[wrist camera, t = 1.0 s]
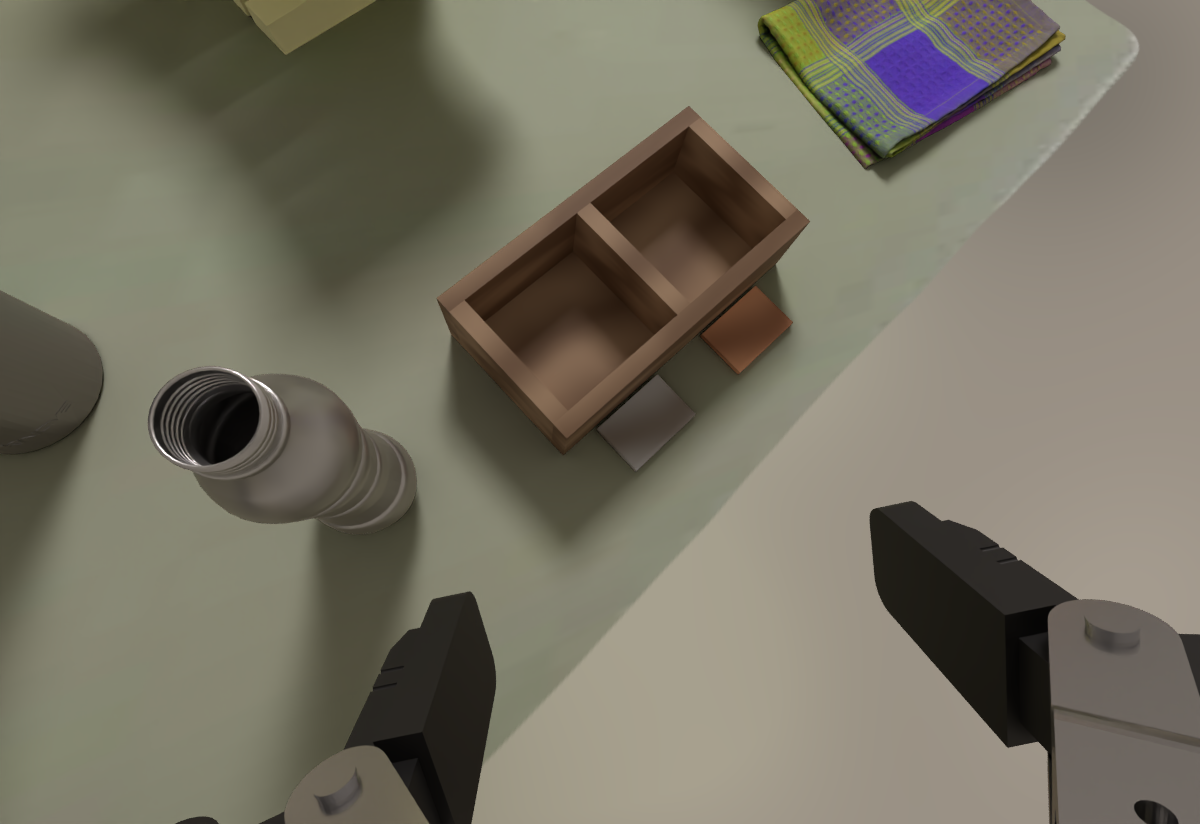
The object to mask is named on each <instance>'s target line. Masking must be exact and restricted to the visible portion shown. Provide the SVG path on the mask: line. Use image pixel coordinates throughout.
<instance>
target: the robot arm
mask: <svg viewBox="0 0 1200 824" xmlns="http://www.w3.org/2000/svg"><path fill="white" fill-rule="evenodd" d="M102 377H103V368H102V363H101V358H100V355H99V353H98V351H97V349H96V347H95V345H94V344H93V343H92V342H91V340H90V339H89V338H88V337H87V336H86V335H85V334H84V333H82V332H81V331H79V330H78V329H77V328H75V327H73V326H71V325H69V324H67V323H65V322H63V321H61V320H59V319H57V318H55V317H53V316H51V315H49V314H47V313H45V312H43V311H41V310H39V309H37V308H35V307H33V306H31V305H29V304H27V303H25V302H23V301H21V300H19V299H17V298H15V297H13V296H11V295H9V294H7V293H5V292H3V291H1V290H0V454H20V453H26V452H31V451H36V450H38V449H41V448H44V447H46V446H49V445H52V444H53V443H55V442H57V441H59V440H60V439H62V438H64V437H65V436H67V435H68V434H69V433H71V432H72V431H73V430H74V429H75V428H77V427H78V426H79V425H80V424H81V423H82V422H83V420H84V419H85V418H86V417H87V416H88V414H89V413H90V412H91V410H92V408H93V406H94V405H95V403H96V401H97V399H98V396H99V393H100V390H101V386H102ZM870 531H871V541H872V554H873V565H874V575H875V582H876V586H877V590H878V593H879V596H880V598H881V600H882V602H883V604H884V606H885V608H886V609H887V610H888V612H889V613H890V614H891V615H892V616H893V618H894V619H895V620H896V621H897V622H898V623H899V624H900V625H901V627H902V628H903V629H904V630H905V631H906V632H907V633H908V635H909V636H910V637H911V638H912V639H913V640H914V641H915V642H916V644H917V645H918V646H919V647H920V648H921V649H922V651H923V652H924V653H925V654H926V655H927V656H928V657H929V659H930V660H931V661H932V662H933V663H934V664H935V665H936V667H937V668H938V669H939V670H940V671H941V672H942V673H943V675H944V676H945V677H946V678H947V679H948V680H949V681H950V682H951V683H952V685H953V686H954V687H955V688H956V689H957V690H958V692H959V693H960V694H961V695H962V696H963V697H964V698H965V700H966V701H967V702H968V703H969V704H970V705H971V706H972V708H973V709H974V710H975V711H976V712H977V713H978V714H979V716H980V717H981V718H982V719H983V720H984V721H985V722H986V723H987V725H988V726H989V727H990V728H991V729H992V730H993V731H994V733H995V734H996V735H997V736H998V737H999V738H1000V739H1001V741H1002V742H1003V743H1004V744H1005V745H1006V746H1007V747H1013V746H1018V745H1023V744H1028V743H1033V742H1039V743H1040V744H1041V745H1042V746H1043V747H1044V748H1045V749H1046V750H1047V751H1048V798H1049V824H1200V635H1198V634H1178V633H1177V632H1176V631H1175V630H1174V629H1173V628H1172V627H1170V626H1169V625H1168V624H1167V623H1166V622H1164V621H1162V620H1161V619H1159V618H1158V617H1156V616H1154V615H1152V614H1150V613H1147V612H1145V611H1143V610H1140V609H1138V608H1134V607H1132V606H1129V605H1125V604H1120V603H1116V602H1111V601H1105V600H1092V599H1090V600H1089V599H1083V600H1079V599H1077V598H1076V597H1074V596H1072V595H1071V594H1070V593H1068V592H1067V591H1065V590H1064V589H1063V588H1061V587H1060V586H1058V585H1057V584H1055V583H1054V582H1052V581H1051V580H1049V579H1048V578H1046V577H1045V576H1044V575H1042V574H1040V573H1039V572H1037V571H1036V570H1035V569H1033V568H1032V567H1030V566H1029V565H1027V564H1026V563H1024V562H1023V561H1022V560H1019V561H1018V560H1017V558H1016V556H1014V555H1013V554H1011V553H1010V552H1009V551H1007V550H1006V549H1004V548H1000V547H999V545H998V544H997V543H995V542H993V540H991V539H989V538H988V537H987V536H985V535H984V534H982V533H981V532H979V531H978V530H976V529H973V528H970V527H967V526H964V525H961V524H959V523H956V522H953V521H950V520H946V521H941V520H939V519H938V518H936V517H935V516H934V515H932V514H931V513H929V512H928V511H927V510H925V509H924V508H923V507H921V506H920V505H918V504H917V503H916V502H913V501H909V502H904V503H899V504H894V505H890V506H885V507H880V508H876V509H873V510H872V511H871V513H870ZM495 690H496V671H495V664H494V659H493V655H492V651H491V648H490V645H489V641H488V638H487V635H486V632H485V628H484V625H483V622H482V618H481V615H480V612H479V608H478V605H477V602H476V599H475V597H474V595H473V594H472V593H471V592H465V593H460V594H455V595H450V596H445V597H441V598H436V599H433V600H432V601H431V603H430V605H429V608H428V610H427V612H426V615H425V617H424V620H423V622H422V624H421V627H420V628H417V629H412V630H409V631H408V632H407V633H406V634H405V635H404V636H403V637H402V638H401V639H400V640H399V641H398V642H397V643H396V644H395V645H394V646H393V647H392V649H391V650H390V652H389V654H388V656H387V658H386V660H385V662H384V664H383V667H382V669H381V674H379V675H378V677H377V679H376V682H375V684H374V686H373V692H370V694H369V696H368V699H367V701H366V703H365V705H364V707H363V709H362V711H361V714H360V716H359V718H358V720H357V722H356V724H355V726H354V729H353V731H352V733H351V735H350V737H349V739H348V741H347V744H346V746H345V748H344V750H343V751H341V752H339V753H336V754H334V755H332V756H331V757H329V758H327V759H326V760H324V761H323V762H321V763H320V764H319V765H317V766H316V767H315V768H314V769H312V770H311V771H310V772H309V773H308V774H307V775H306V776H305V777H304V778H303V779H302V780H301V781H300V783H299V784H298V785H297V786H296V788H295V789H294V791H293V792H292V794H291V796H290V798H289V800H288V802H287V805H286V808H285V811H284V812H282V813H281V814H279V815H277V816H275V817H272V818H270V819H268V820H266V821H264V822H262V823H259V824H471V822H472V817H473V811H474V806H475V800H476V794H477V789H478V783H479V778H480V773H481V767H482V762H483V756H484V751H485V745H486V740H487V734H488V729H489V723H490V718H491V713H492V707H493V702H494V696H495ZM176 824H218V822H217V821H216V820H214V819H213V818H210V817H194V818H189V819H186V820H183V821H180V822H178V823H176Z"/></svg>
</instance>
